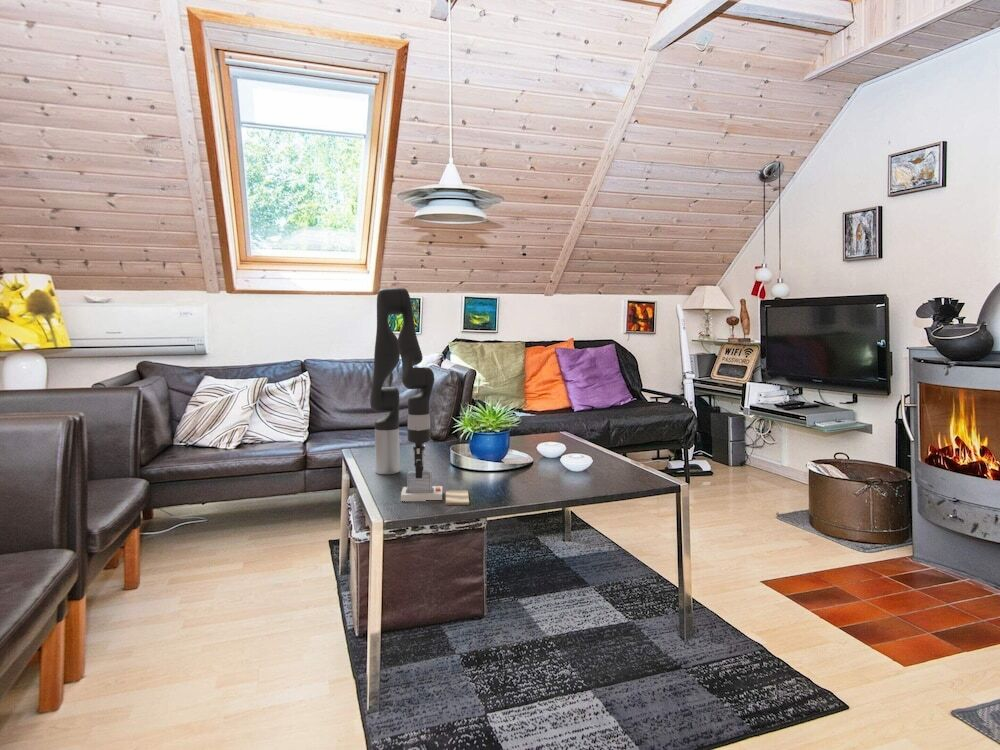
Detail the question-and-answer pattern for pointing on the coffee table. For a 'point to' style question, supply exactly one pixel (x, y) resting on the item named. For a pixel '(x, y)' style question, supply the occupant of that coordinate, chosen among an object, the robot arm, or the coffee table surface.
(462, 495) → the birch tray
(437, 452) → the coffee table surface
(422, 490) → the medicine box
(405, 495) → the power strip
